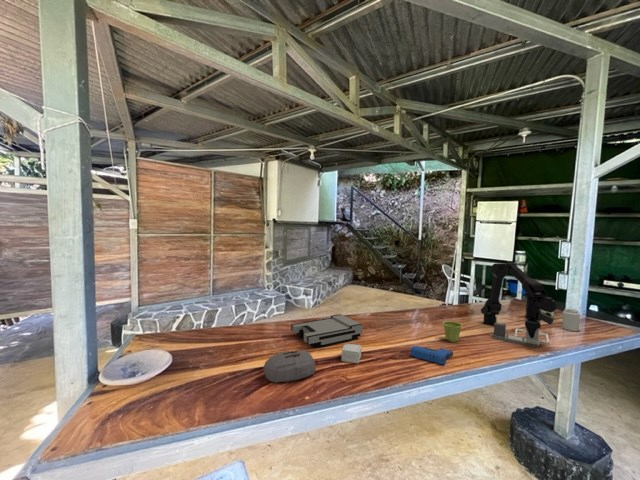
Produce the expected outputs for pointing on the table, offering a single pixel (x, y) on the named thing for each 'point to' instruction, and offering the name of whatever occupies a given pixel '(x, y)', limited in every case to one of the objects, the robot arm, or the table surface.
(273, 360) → the small grey backpack
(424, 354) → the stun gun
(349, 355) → the small box
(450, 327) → the plant pot
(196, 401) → the table surface
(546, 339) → the white square frame
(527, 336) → the plug
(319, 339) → the game console
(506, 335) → the strip
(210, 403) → the table surface
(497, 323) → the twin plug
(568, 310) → the can
